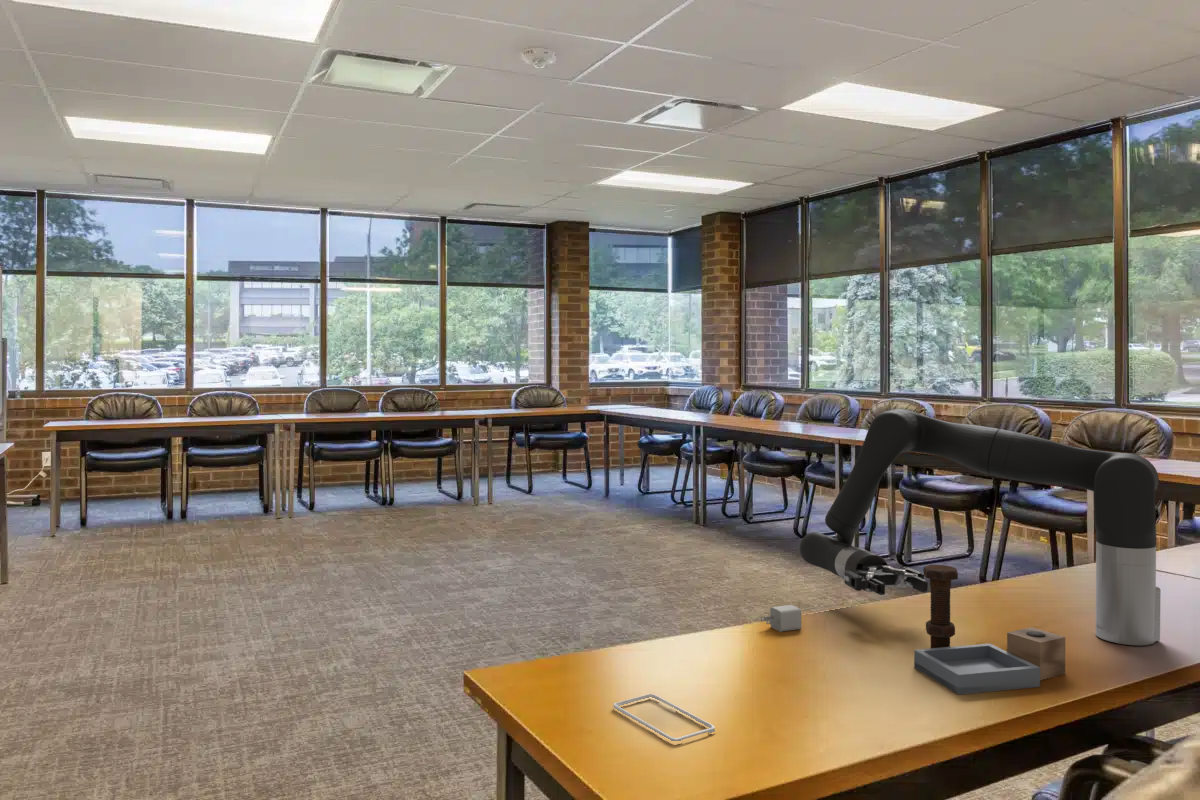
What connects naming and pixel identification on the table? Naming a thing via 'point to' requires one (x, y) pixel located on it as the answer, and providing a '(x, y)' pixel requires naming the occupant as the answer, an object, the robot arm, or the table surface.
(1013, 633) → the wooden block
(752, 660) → the table surface
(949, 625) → the bolt
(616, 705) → the phone case
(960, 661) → the tray
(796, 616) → the usb wall charger
